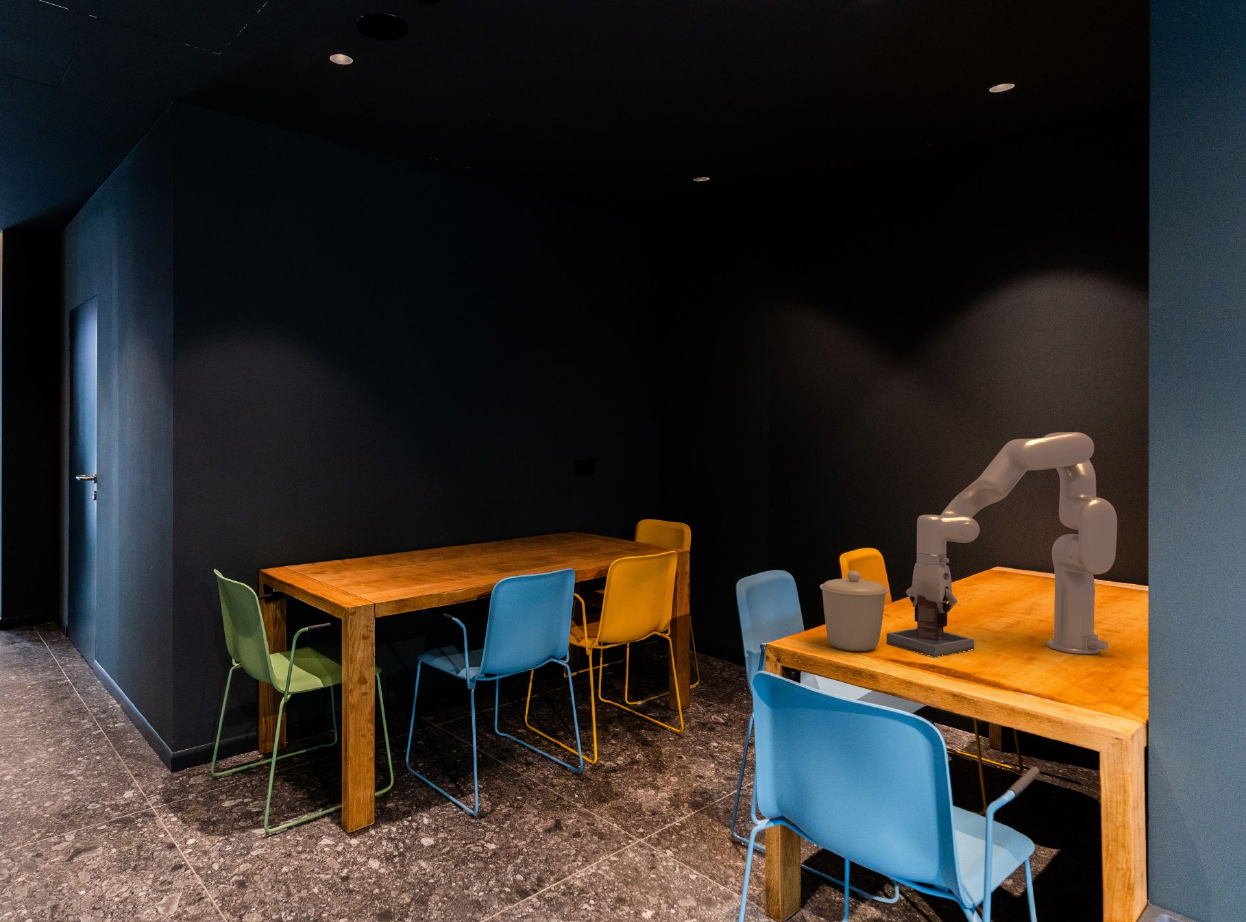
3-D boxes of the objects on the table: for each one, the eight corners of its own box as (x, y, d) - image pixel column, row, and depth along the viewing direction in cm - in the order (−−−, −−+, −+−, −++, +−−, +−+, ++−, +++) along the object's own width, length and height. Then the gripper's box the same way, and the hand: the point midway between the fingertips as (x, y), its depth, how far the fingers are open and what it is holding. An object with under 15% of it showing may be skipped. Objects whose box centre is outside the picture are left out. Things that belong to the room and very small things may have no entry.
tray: (973, 650, 206) (974, 639, 206) (934, 657, 198) (934, 646, 198) (924, 636, 220) (925, 626, 220) (886, 643, 212) (886, 633, 212)
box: (944, 639, 209) (944, 595, 209) (937, 642, 206) (938, 598, 205) (922, 635, 213) (922, 592, 213) (915, 638, 210) (916, 595, 209)
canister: (858, 636, 220) (859, 564, 220) (902, 652, 204) (903, 574, 203) (806, 641, 214) (807, 567, 213) (846, 658, 197) (847, 578, 197)
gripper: (967, 563, 203) (967, 628, 203) (914, 554, 218) (914, 616, 219) (949, 565, 199) (948, 632, 200) (896, 556, 215) (896, 619, 215)
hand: (930, 623), depth 209 cm, fingers closed on box, 6 cm apart
